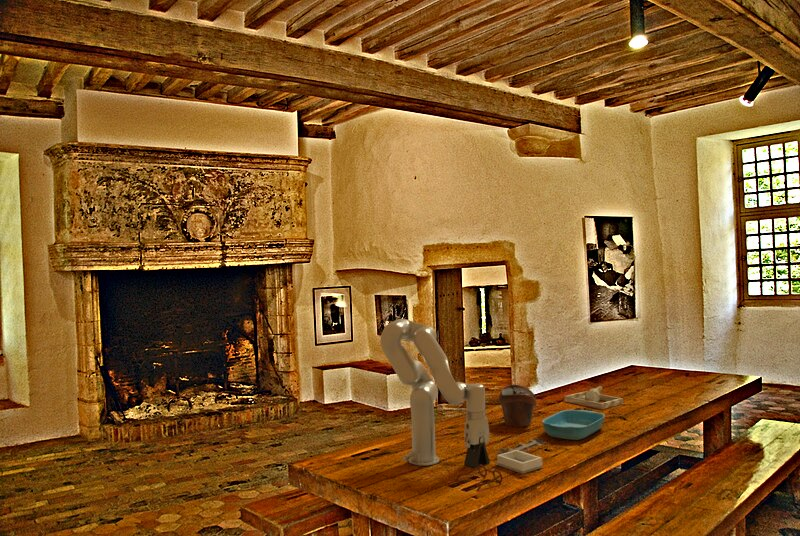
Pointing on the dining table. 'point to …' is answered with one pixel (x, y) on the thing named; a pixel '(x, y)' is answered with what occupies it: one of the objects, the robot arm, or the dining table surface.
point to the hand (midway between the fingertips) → (476, 459)
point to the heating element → (523, 446)
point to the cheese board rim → (610, 401)
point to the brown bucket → (517, 405)
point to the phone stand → (477, 456)
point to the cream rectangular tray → (519, 461)
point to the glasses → (483, 475)
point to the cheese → (592, 394)
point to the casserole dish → (573, 424)
